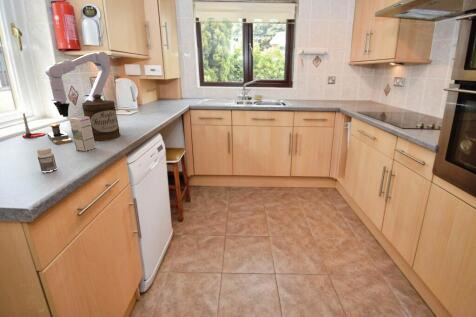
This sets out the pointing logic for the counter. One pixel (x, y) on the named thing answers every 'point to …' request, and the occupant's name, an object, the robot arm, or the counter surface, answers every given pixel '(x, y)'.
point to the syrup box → (82, 133)
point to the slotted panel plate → (59, 138)
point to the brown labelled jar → (102, 118)
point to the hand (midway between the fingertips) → (64, 115)
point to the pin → (56, 129)
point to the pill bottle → (46, 159)
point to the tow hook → (28, 134)
